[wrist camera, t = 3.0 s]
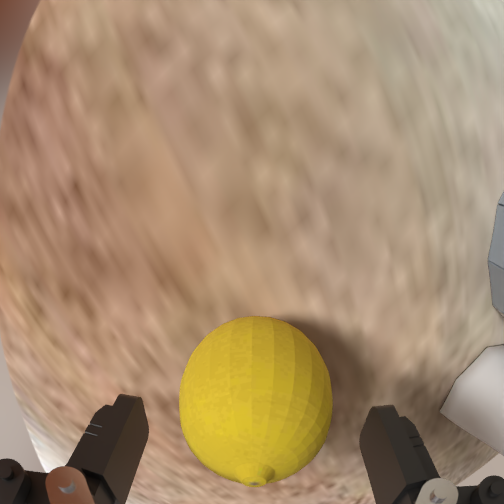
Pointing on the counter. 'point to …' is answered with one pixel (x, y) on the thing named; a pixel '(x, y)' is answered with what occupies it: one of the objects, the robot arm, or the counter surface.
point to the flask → (480, 399)
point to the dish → (497, 259)
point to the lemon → (255, 401)
